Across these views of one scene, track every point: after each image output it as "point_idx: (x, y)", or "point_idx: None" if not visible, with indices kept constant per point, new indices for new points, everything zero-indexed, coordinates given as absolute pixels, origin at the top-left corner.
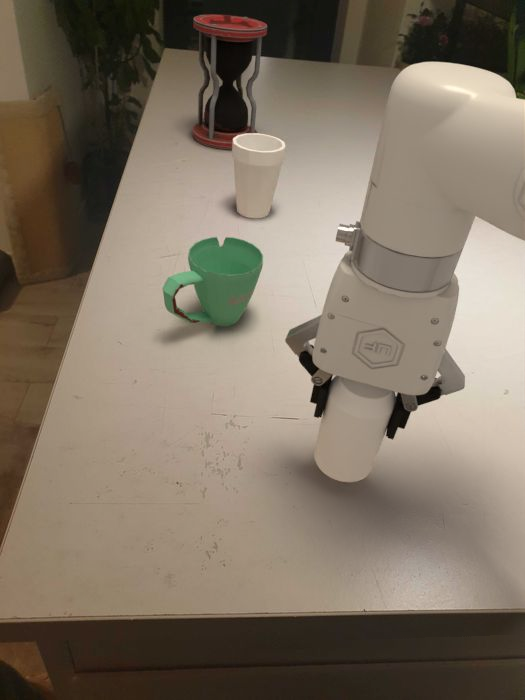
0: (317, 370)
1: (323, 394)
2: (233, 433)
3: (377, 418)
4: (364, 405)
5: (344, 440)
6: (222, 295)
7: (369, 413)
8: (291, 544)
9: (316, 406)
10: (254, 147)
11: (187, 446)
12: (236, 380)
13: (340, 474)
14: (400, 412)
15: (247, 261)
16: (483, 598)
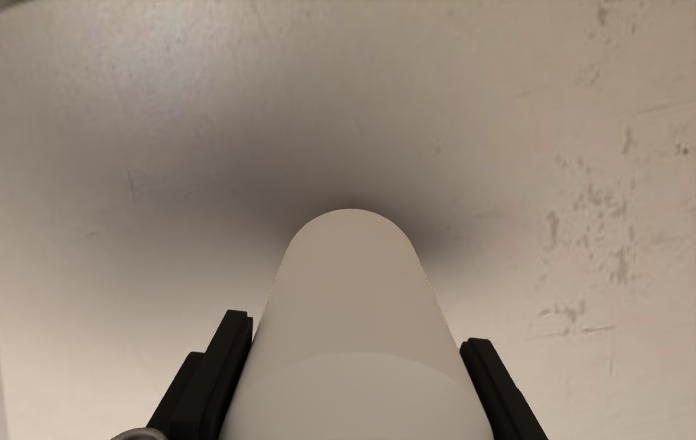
0: None
1: (521, 429)
2: (568, 292)
3: (288, 363)
4: (358, 415)
5: (384, 274)
6: None
7: (327, 379)
8: (439, 57)
9: (507, 373)
10: None
11: (664, 242)
12: (564, 411)
13: (359, 216)
14: (187, 413)
15: None
16: (32, 21)
